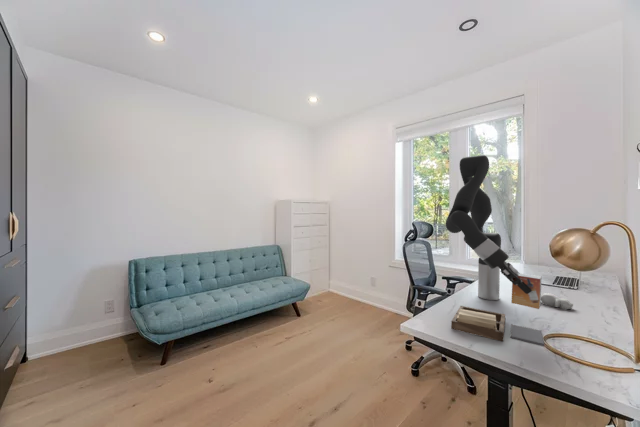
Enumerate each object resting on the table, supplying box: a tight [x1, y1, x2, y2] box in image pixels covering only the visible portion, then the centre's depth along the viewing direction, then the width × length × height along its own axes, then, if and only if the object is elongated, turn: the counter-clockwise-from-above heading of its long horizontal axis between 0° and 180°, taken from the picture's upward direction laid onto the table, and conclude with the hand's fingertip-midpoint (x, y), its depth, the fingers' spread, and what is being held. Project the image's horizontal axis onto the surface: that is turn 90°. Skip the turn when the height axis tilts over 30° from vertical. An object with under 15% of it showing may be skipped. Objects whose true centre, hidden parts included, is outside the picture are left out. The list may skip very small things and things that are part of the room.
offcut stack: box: [457, 309, 497, 330], centre depth 99 cm, size 6×12×6 cm, turn 58°
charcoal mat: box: [510, 323, 545, 346], centre depth 95 cm, size 12×9×1 cm
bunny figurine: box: [541, 292, 574, 310], centre depth 125 cm, size 10×5×15 cm
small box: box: [511, 272, 542, 310], centre depth 95 cm, size 8×6×10 cm
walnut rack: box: [450, 305, 506, 342], centre depth 103 cm, size 20×16×3 cm
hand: (529, 289), depth 95 cm, fingers closed on small box, 6 cm apart
